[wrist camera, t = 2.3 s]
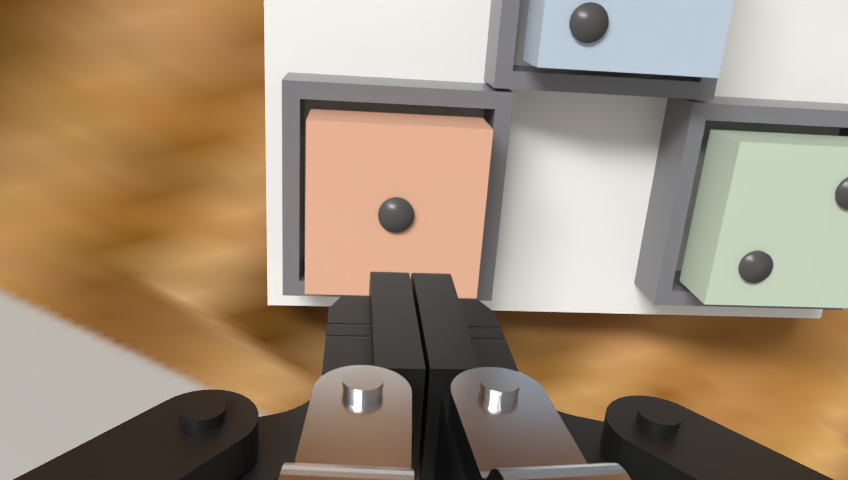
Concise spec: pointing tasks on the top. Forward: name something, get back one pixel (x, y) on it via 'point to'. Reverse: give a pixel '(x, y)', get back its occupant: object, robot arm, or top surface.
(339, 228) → the button one
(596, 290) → the button panel
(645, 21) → the button three
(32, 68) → the top surface
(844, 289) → the button two
